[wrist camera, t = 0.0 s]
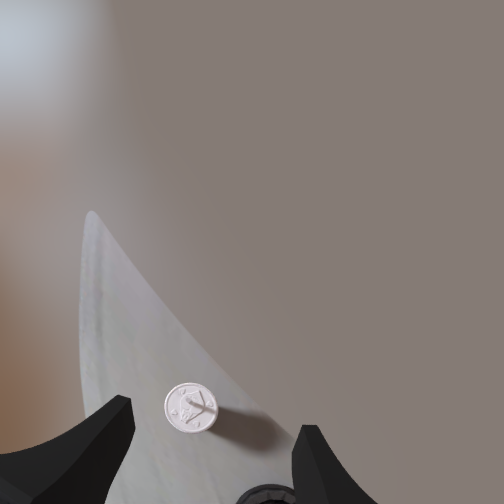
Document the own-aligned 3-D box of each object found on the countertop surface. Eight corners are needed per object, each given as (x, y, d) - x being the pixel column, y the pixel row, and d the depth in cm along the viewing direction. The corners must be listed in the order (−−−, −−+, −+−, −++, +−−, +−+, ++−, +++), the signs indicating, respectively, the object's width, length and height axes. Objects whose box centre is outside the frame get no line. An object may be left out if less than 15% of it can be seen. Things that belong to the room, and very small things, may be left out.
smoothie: (227, 404, 39) (227, 391, 28) (209, 440, 36) (200, 444, 24) (188, 385, 40) (172, 365, 29) (169, 421, 37) (145, 414, 25)
